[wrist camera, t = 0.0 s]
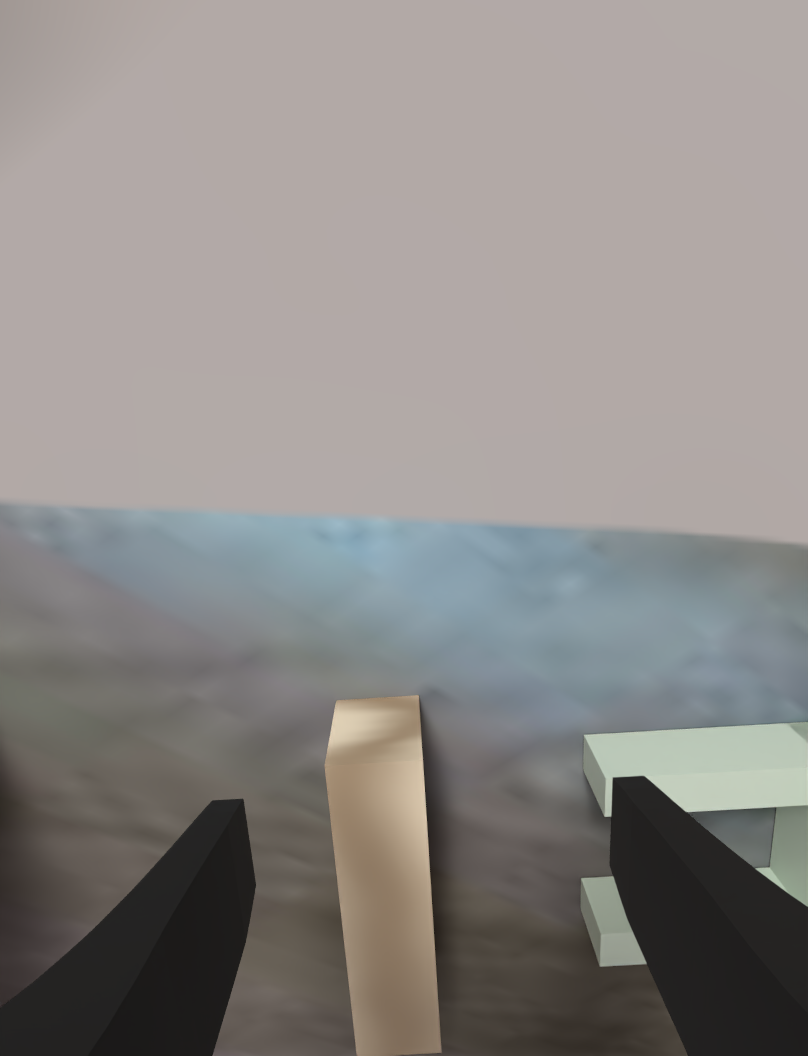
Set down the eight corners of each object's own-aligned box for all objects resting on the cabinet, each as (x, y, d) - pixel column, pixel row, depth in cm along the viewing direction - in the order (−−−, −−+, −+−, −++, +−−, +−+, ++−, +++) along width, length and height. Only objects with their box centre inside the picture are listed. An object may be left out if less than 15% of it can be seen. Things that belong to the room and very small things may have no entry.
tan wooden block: (418, 692, 23) (422, 760, 19) (434, 949, 26) (441, 1052, 22) (336, 697, 23) (324, 766, 19) (363, 953, 26) (357, 1057, 22)
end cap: (803, 895, 25) (876, 993, 21) (580, 908, 25) (613, 1007, 21) (826, 720, 23) (913, 793, 19) (583, 734, 23) (621, 810, 19)
